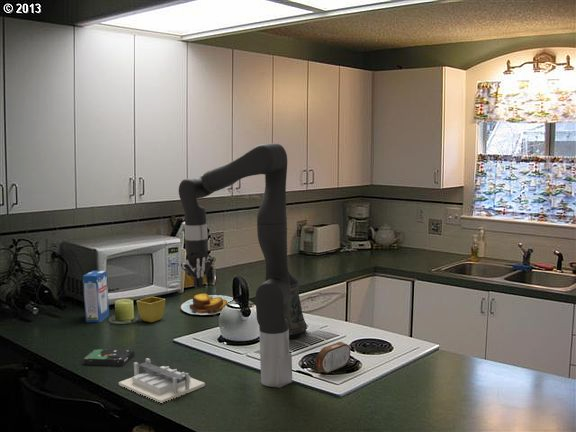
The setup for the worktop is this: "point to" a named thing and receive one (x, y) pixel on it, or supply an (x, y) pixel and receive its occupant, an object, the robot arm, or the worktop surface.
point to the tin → (333, 357)
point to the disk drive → (108, 357)
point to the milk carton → (96, 296)
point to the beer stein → (294, 312)
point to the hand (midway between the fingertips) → (198, 287)
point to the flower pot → (151, 308)
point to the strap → (161, 372)
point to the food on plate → (205, 304)
